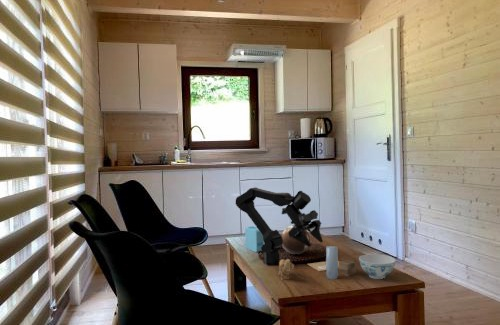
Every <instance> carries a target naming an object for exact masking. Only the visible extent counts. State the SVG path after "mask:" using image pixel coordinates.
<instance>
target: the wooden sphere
mask: <svg viewBox="0 0 500 325" xmlns="http://www.w3.org/2000/svg"><path fill="white" fill-rule="evenodd" d="M294 226H295V225H294V224H291V225H289V226H287V227H286V228H284V229H283V231H282V233H281V234H280V235H281V236H282V239H283V244H282V246H281V247H282V248H283V250H284V251H286V252H287V253H288V254H291V255H295V254H297V255H301V254H303V253H304V252H306V251H307V250H308V248H309V246H307V245H305V244H304V243H302V242H300V241H298V240H296V239H293V238H294V237H293V238H290V236H289V235H288V232H289V231H290V230H291V229H292V228H293V227H294ZM305 235H306V237H307V239H308V240H309V242H311V238H310V233H309V231H308V230H305Z"/></svg>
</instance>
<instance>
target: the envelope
mask: <svg viewBox="0 0 500 325" xmlns="http://www.w3.org/2000/svg"><path fill="white" fill-rule="evenodd" d="M339 262H341V261H339V260H338V270H339ZM307 265H308V266H310V267H311V268H313V269H314V270H317V271H318V272H323V271H325V272H326V261H320V262H319V261H318V262H313V263H311V262H310V263H307Z"/></svg>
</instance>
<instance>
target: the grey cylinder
mask: <svg viewBox="0 0 500 325" xmlns="http://www.w3.org/2000/svg"><path fill="white" fill-rule="evenodd" d="M325 249H326V250H325V253H326V254H325V256H326V257H325V262H326V270H325V272H326V273H325V275H326V279H329V280H338V279H339V269H338V261H339V259H338V257H339V254H338V253H339V249H338V246H336V245H327V246H326V247H325Z"/></svg>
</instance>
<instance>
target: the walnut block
mask: <svg viewBox="0 0 500 325" xmlns="http://www.w3.org/2000/svg"><path fill="white" fill-rule="evenodd" d="M356 267H357V266H356V262H355V261H351V260H350V259H349V260H348V259H345V260H342V261H340V262H339V269H338V274H341V275H344V276H347V277H348V276H352V275H355V274H356V270H357V268H356Z"/></svg>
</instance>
